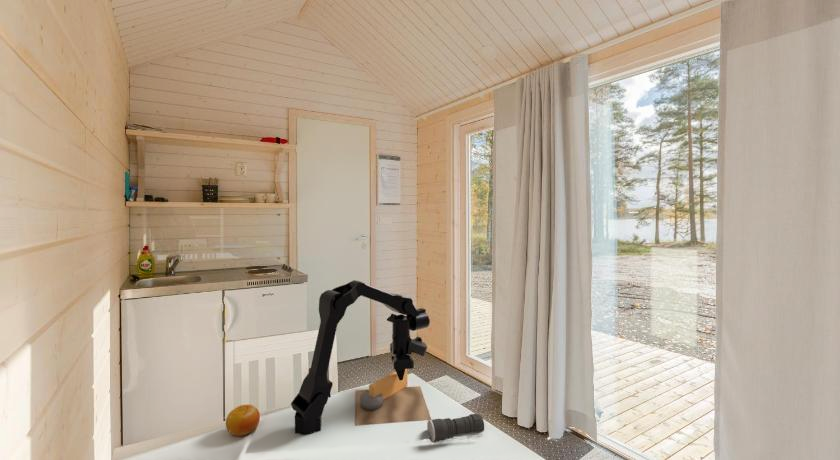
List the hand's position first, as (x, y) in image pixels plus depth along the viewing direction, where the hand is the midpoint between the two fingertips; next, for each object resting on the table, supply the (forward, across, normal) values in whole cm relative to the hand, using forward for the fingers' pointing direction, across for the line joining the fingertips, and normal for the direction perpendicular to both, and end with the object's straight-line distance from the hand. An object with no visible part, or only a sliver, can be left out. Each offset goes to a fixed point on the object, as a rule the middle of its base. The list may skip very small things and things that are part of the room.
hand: (401, 380), depth 133 cm
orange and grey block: (+4, -2, +5) cm, 7 cm away
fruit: (+7, -14, +46) cm, 48 cm away
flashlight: (+7, -24, -13) cm, 28 cm away
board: (+6, -6, +4) cm, 10 cm away
